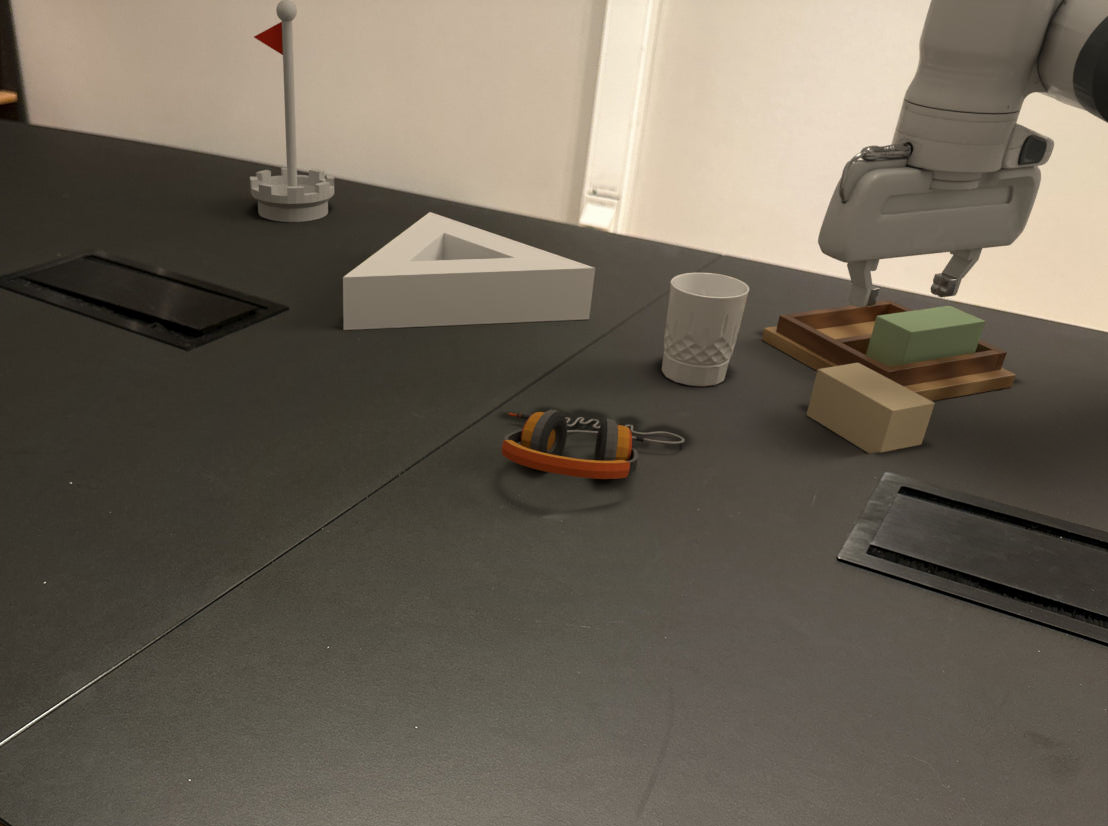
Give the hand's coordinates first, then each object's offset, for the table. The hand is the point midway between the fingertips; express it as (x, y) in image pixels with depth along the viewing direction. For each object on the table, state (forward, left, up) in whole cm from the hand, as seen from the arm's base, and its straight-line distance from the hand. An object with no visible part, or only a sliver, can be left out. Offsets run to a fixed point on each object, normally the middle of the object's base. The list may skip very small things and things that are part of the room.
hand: (902, 300), depth 95 cm
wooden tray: (-14, -13, -13) cm, 23 cm away
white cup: (+8, -17, -13) cm, 23 cm away
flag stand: (+31, -92, -13) cm, 98 cm away
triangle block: (+20, -44, -13) cm, 50 cm away
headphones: (+30, -3, -13) cm, 33 cm away
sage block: (-15, -9, -12) cm, 21 cm away
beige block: (+1, 0, -13) cm, 13 cm away
